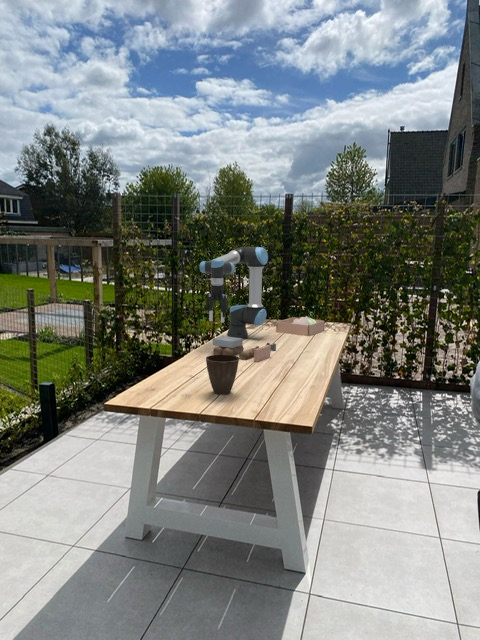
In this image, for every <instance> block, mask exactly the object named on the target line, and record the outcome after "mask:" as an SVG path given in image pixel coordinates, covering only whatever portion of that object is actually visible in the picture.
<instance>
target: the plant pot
mask: <svg viewBox="0 0 480 640" xmlns="http://www.w3.org/2000/svg"><path fill="white" fill-rule="evenodd" d="M239 361H240V359H239V356H237V355H235V356H233V355H213V354H212V355H208V356H206V357H205V362H206V368H207V374H208V378H209V382H210V385H211V388H212V390H213V393H214V394H216V395H220V396H221V395H224V396H225V395H228V394H230V393H231V391H232V390H233V389H232V388H233V386H234V383H235V380H236V377H237V373H238V367H239Z"/></svg>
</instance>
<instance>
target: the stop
mask: <svg viewBox="0 0 480 640" xmlns="http://www.w3.org/2000/svg"><path fill="white" fill-rule="evenodd" d="M270 350H271V346H270V345H267V346H266V345H264V346H262V347H261V346H260V347H259V348H258V349H255V350H254V357H253V362H255V363H258V362H261V361H263V360H266V359H269V358H270V357H271V351H270Z"/></svg>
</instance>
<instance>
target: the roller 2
mask: <svg viewBox="0 0 480 640" xmlns="http://www.w3.org/2000/svg"><path fill="white" fill-rule="evenodd" d="M243 351H245V350H244V345H243V344H242V345H241V346H237V347H234V348H226V349H224V350H223V351H222V354H223V355H235V354H237V355H239V354H238V353H240V352H243ZM235 356H236V355H235Z"/></svg>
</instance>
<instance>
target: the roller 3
mask: <svg viewBox="0 0 480 640" xmlns="http://www.w3.org/2000/svg"><path fill="white" fill-rule="evenodd" d="M255 349H258V348H257V347H256V346H255V347H253V348H249V349H247V350H243V352H240V354H238V357H239V358H240V359H239V360H242V361H246V360H245V359H248V358H250V357H253V356H254V350H255ZM253 358H254V357H253ZM248 360H249V359H248Z"/></svg>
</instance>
